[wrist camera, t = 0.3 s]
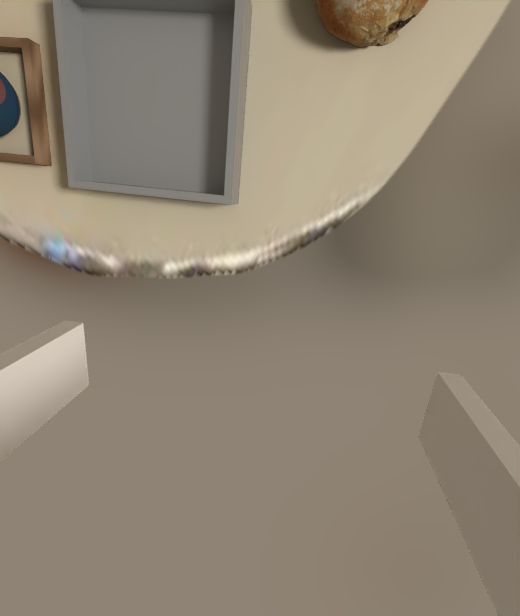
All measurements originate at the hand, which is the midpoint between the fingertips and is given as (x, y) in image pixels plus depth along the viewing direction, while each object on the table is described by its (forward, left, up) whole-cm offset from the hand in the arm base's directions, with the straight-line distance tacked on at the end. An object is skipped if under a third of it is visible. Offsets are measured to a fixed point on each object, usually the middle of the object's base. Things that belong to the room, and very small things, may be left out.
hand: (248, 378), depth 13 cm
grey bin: (-14, -15, -27) cm, 34 cm away
